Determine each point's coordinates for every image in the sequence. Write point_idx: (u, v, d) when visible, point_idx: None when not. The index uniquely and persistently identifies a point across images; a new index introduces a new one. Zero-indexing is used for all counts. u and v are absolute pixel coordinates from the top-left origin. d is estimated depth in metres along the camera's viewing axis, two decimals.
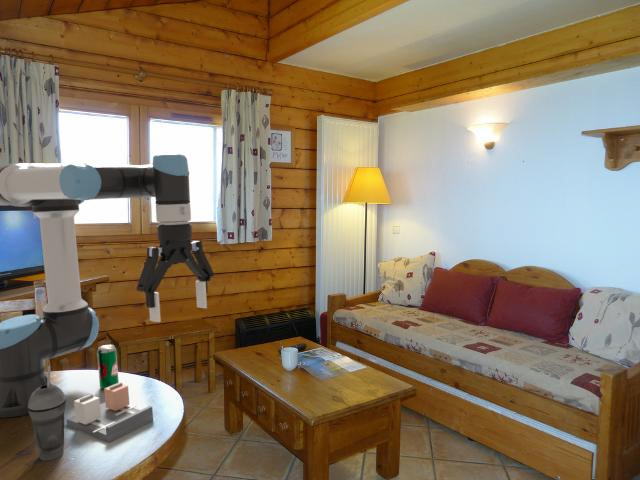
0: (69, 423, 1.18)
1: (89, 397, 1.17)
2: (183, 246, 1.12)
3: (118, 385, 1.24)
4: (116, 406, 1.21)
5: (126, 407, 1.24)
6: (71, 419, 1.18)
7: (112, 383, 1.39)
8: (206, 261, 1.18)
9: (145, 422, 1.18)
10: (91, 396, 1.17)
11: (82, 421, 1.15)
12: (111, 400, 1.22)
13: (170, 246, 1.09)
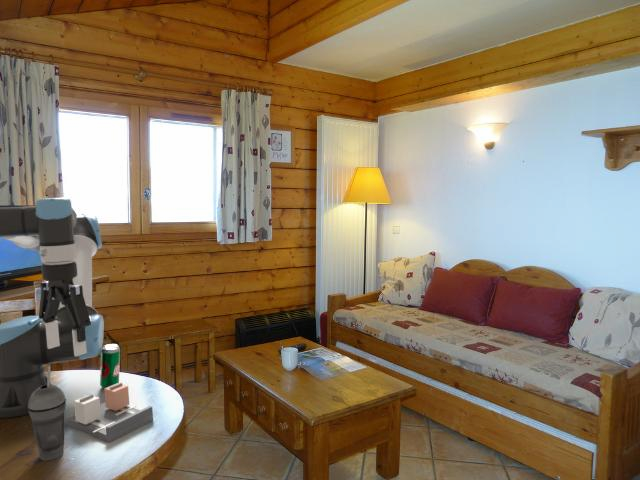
0: (69, 423, 1.18)
1: (89, 397, 1.17)
2: (59, 285, 1.16)
3: (118, 385, 1.24)
4: (116, 406, 1.21)
5: (126, 407, 1.24)
6: (71, 419, 1.18)
7: (113, 383, 1.39)
8: (75, 309, 1.13)
9: (145, 422, 1.18)
10: (91, 396, 1.17)
11: (82, 421, 1.15)
12: (111, 400, 1.22)
13: (50, 282, 1.18)
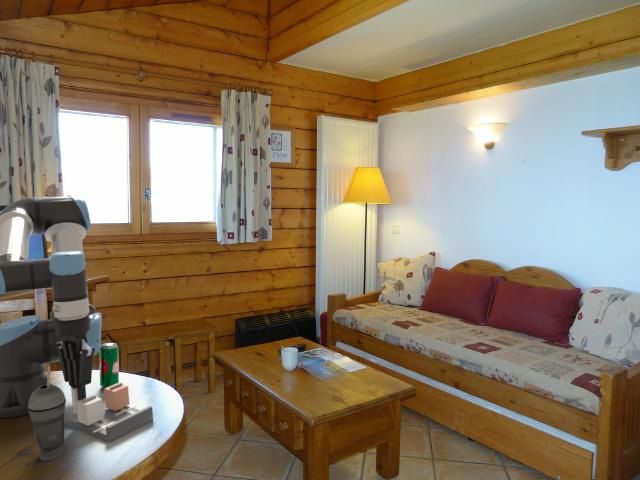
0: (69, 423, 1.18)
1: (92, 398, 1.16)
2: (73, 336, 1.14)
3: (118, 385, 1.24)
4: (116, 406, 1.21)
5: (126, 407, 1.24)
6: (71, 419, 1.18)
7: (112, 381, 1.40)
8: (81, 370, 1.14)
9: (145, 422, 1.18)
10: (94, 397, 1.17)
11: (85, 422, 1.14)
12: (111, 400, 1.22)
13: (62, 335, 1.17)
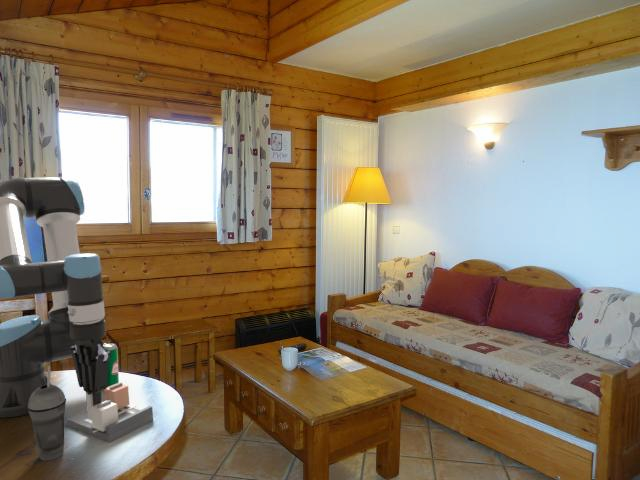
0: (69, 423, 1.18)
1: (106, 403, 1.13)
2: (89, 341, 1.11)
3: (118, 385, 1.24)
4: None
5: (126, 407, 1.24)
6: (71, 419, 1.18)
7: (112, 382, 1.40)
8: (97, 375, 1.11)
9: (145, 422, 1.18)
10: (108, 402, 1.14)
11: (100, 428, 1.11)
12: (111, 400, 1.22)
13: None
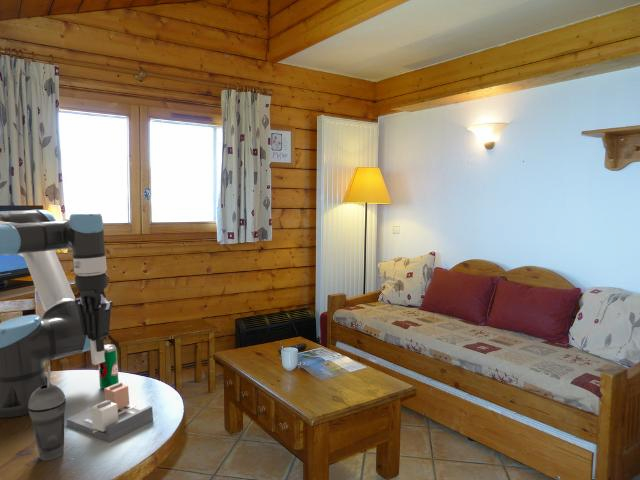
0: (69, 423, 1.18)
1: (106, 403, 1.13)
2: (92, 291, 1.22)
3: (118, 385, 1.24)
4: None
5: (126, 407, 1.24)
6: (71, 419, 1.18)
7: (112, 383, 1.39)
8: (100, 322, 1.22)
9: (145, 422, 1.18)
10: (108, 402, 1.14)
11: (100, 428, 1.11)
12: (111, 400, 1.22)
13: (81, 291, 1.25)
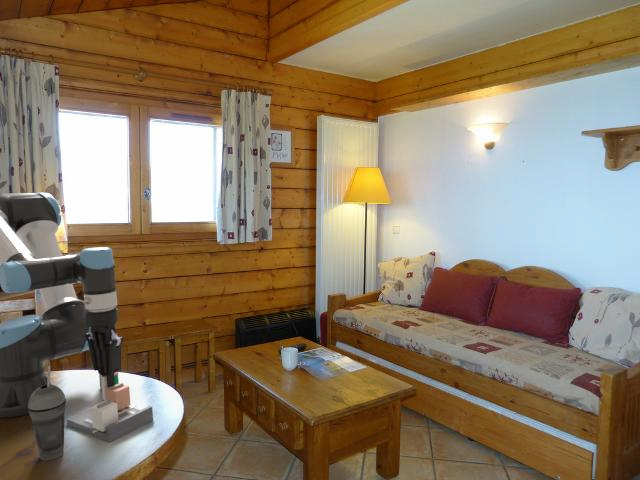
0: (69, 423, 1.18)
1: (106, 403, 1.13)
2: (103, 327, 1.22)
3: (119, 385, 1.23)
4: (117, 407, 1.21)
5: (126, 407, 1.24)
6: (71, 419, 1.18)
7: None
8: (111, 358, 1.21)
9: (145, 422, 1.18)
10: (108, 402, 1.14)
11: (100, 428, 1.11)
12: (113, 401, 1.21)
13: (92, 326, 1.24)
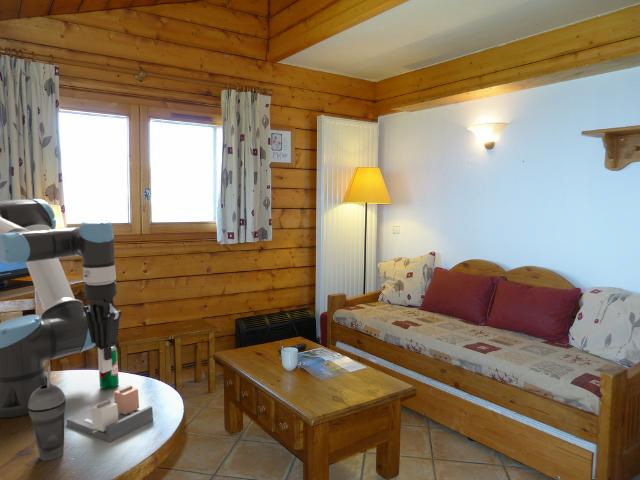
0: (69, 423, 1.18)
1: (106, 403, 1.13)
2: (101, 300, 1.22)
3: (128, 388, 1.21)
4: (126, 410, 1.19)
5: None
6: (71, 419, 1.18)
7: (112, 383, 1.39)
8: (108, 332, 1.22)
9: (145, 422, 1.18)
10: (108, 402, 1.14)
11: (100, 428, 1.11)
12: (121, 404, 1.19)
13: (90, 299, 1.25)
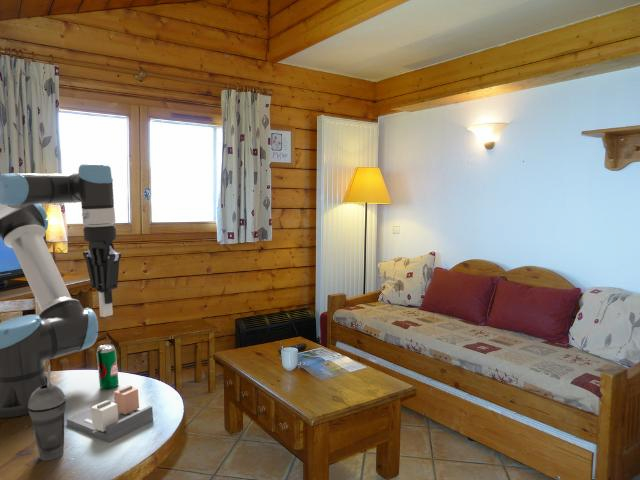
0: (69, 423, 1.18)
1: (106, 403, 1.13)
2: (101, 243, 1.22)
3: (128, 388, 1.21)
4: (126, 410, 1.19)
5: None
6: (71, 419, 1.18)
7: (111, 383, 1.39)
8: (108, 274, 1.22)
9: (145, 422, 1.18)
10: (108, 402, 1.14)
11: (100, 428, 1.11)
12: (121, 404, 1.19)
13: (90, 243, 1.25)
